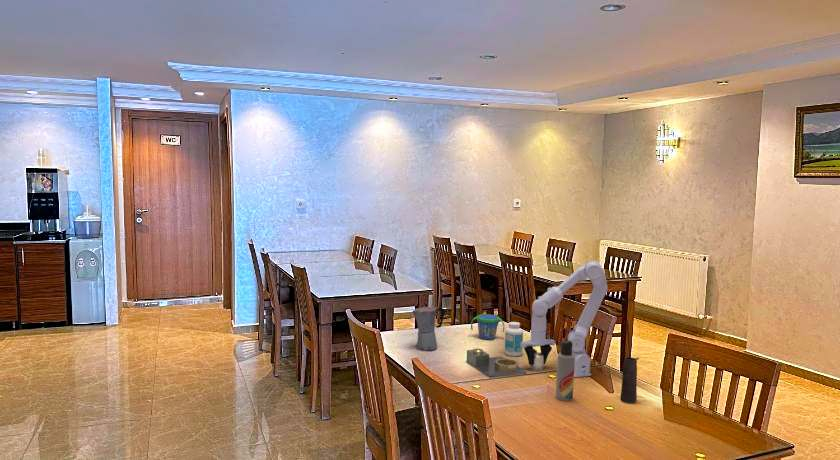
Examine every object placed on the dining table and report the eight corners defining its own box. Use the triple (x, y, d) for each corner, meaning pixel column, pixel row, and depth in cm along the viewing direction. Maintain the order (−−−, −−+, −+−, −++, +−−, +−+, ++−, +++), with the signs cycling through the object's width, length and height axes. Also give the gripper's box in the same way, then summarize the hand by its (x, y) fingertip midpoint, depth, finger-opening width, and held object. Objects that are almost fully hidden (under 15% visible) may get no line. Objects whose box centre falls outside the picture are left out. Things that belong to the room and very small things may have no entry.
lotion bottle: (573, 401, 199) (576, 343, 198) (555, 400, 200) (558, 342, 199) (572, 396, 205) (575, 339, 203) (555, 394, 206) (558, 338, 204)
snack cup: (505, 336, 280) (506, 315, 279) (502, 342, 270) (503, 320, 269) (472, 333, 284) (473, 312, 283) (468, 339, 274) (469, 317, 273)
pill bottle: (521, 352, 256) (522, 321, 254) (522, 357, 248) (524, 325, 247) (504, 351, 256) (505, 320, 255) (504, 356, 249) (506, 324, 248)
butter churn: (645, 398, 205) (650, 318, 202) (646, 407, 196) (651, 324, 193) (617, 394, 208) (622, 315, 205) (617, 403, 199) (621, 321, 196)
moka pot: (406, 346, 259) (408, 301, 257) (438, 343, 265) (439, 299, 264) (415, 352, 250) (417, 306, 249) (448, 349, 257) (449, 303, 255)
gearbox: (526, 373, 227) (527, 358, 227) (489, 377, 221) (490, 362, 221) (501, 358, 246) (501, 344, 245) (466, 361, 240) (467, 347, 239)
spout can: (545, 370, 232) (546, 352, 231) (534, 371, 230) (535, 353, 230) (538, 366, 237) (539, 349, 236) (527, 367, 235) (528, 350, 234)
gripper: (548, 326, 238) (547, 359, 240) (517, 329, 233) (515, 362, 234) (558, 330, 232) (557, 364, 233) (526, 333, 227) (525, 368, 228)
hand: (537, 364), depth 233 cm, fingers closed on spout can, 5 cm apart
